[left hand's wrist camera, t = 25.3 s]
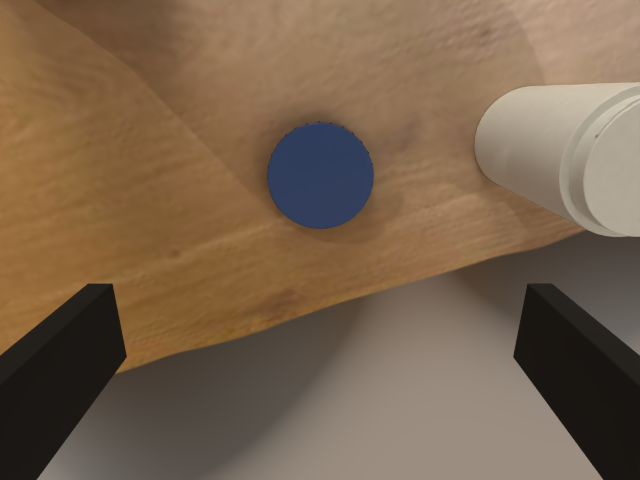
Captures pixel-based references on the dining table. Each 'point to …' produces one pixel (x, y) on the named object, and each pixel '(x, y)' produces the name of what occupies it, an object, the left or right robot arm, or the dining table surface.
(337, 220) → the lid
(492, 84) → the dining table surface
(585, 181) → the jar
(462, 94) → the dining table surface
